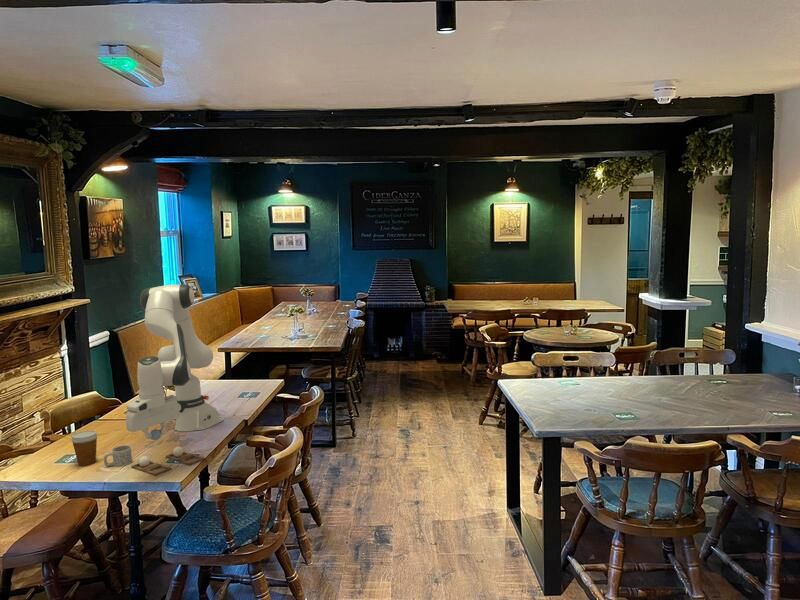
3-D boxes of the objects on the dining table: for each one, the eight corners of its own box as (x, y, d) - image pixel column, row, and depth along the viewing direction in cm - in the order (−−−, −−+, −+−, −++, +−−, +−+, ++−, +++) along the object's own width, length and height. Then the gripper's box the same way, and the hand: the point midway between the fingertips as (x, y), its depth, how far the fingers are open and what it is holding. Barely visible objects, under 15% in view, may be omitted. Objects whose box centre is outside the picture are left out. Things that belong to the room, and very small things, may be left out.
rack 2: (165, 459, 239) (165, 456, 239) (180, 453, 245) (180, 450, 244) (190, 467, 230) (190, 463, 230) (205, 460, 236) (205, 457, 235)
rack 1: (131, 469, 230) (131, 465, 230) (147, 462, 236) (147, 459, 235) (155, 477, 221) (155, 474, 221) (172, 471, 227) (172, 467, 226)
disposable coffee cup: (70, 463, 238) (67, 434, 236) (95, 456, 244) (93, 428, 243) (77, 469, 231) (74, 440, 230) (103, 462, 238) (100, 433, 236)
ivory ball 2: (179, 453, 242) (178, 444, 242) (185, 455, 240) (185, 446, 240) (171, 457, 239) (170, 447, 239) (177, 459, 237) (176, 449, 236)
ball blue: (157, 437, 227) (156, 427, 226) (163, 439, 224) (162, 428, 224) (147, 440, 223) (146, 430, 223) (154, 442, 221) (153, 432, 221)
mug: (130, 459, 240) (128, 444, 239) (134, 464, 234) (132, 448, 233) (103, 466, 234) (101, 450, 233) (106, 471, 228) (104, 455, 228)
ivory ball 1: (146, 463, 233) (145, 453, 233) (152, 465, 231) (151, 455, 231) (137, 467, 230) (136, 457, 230) (143, 469, 228) (142, 459, 227)
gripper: (171, 392, 232) (174, 426, 234) (122, 406, 216) (125, 443, 217) (181, 394, 229) (184, 429, 231) (132, 408, 212) (135, 446, 214)
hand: (155, 436), depth 224 cm, fingers closed on ball blue, 4 cm apart
